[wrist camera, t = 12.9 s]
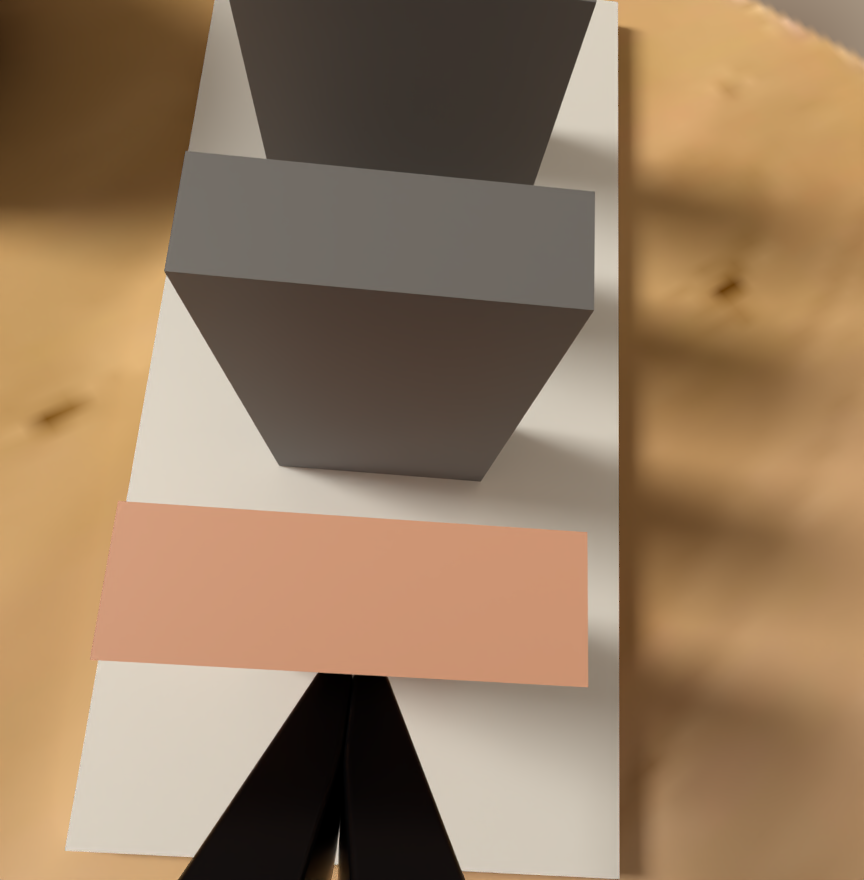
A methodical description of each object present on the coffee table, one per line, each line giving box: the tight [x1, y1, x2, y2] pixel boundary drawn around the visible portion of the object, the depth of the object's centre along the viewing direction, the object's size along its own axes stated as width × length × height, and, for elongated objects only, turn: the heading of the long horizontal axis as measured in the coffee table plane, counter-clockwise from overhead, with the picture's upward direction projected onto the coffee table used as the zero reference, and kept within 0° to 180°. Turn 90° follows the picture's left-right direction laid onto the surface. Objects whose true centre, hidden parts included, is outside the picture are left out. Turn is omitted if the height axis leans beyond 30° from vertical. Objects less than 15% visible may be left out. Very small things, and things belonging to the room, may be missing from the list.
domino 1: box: [229, 0, 597, 185], centre depth 15 cm, size 2×5×10 cm, turn 86°
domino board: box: [65, 0, 619, 879], centre depth 19 cm, size 24×12×1 cm, turn 176°
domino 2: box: [164, 151, 595, 482], centre depth 14 cm, size 2×5×10 cm, turn 86°
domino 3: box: [90, 501, 588, 687], centre depth 12 cm, size 2×5×10 cm, turn 87°
